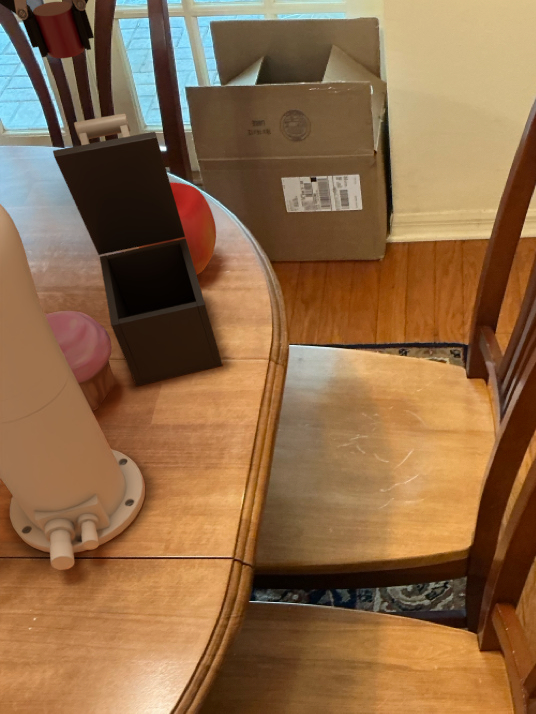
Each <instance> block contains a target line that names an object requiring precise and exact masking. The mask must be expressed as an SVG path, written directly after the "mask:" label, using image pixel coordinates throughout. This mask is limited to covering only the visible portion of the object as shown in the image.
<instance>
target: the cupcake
mask: <svg viewBox="0 0 536 714" xmlns="http://www.w3.org/2000/svg"><path fill="white" fill-rule="evenodd" d="M45 315H46V318H47V320H48V323H49V325H50V327H51V329H52V331H53V333H54V336H55V338H56V340H57V342H58V344H59V346H60V348H61V350H62V352H63V354H64V356H65V358H66V360H67V362H68V364H69V366H70V368H71V370H72V372H73V374H74V376H75V378H76V380H77V382H78V384H79V386H80V388H81V390H82V392H83V394H84V396H85V398H86V400H87V402H88V404H89V406H90V408H91V410H92V412H93V411H95V410H97V409H98V408H99V407H100V405H101V404H102V403H103V402H104V400H105V399H106V398H107V396H108V394H109V393H110V392H111V391H112V390H114V387H115V385H116V381H115V376H114V373H113V370H112V367H111V363H110V358H111V356H112V352H113V347H112V346H113V345H112V340H111V337H110V335H109V332H108V331H107V330H106V329H105V327H104V326H102V325H101V324H100V323H99V322H98V321H97V320H96V319H94V318H93V317H91V316H90V315H88V314H86V313H84V312H82V311H75V310H58V311H54V312H50V313H45Z"/></svg>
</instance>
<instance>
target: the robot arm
mask: <svg viewBox="0 0 536 714" xmlns="http://www.w3.org/2000/svg"><path fill="white" fill-rule="evenodd" d="M70 1H71V6H72V9H73V15H74V18H75V21H76V24H77V27H78V30H79V33H80V36H81V39H82V42H83V45H84V48H85V50H86V51H90V50H92V47H91V42H90V39H95V36H94V32H93V29H92V26H91V22H90V20H89V16H88V14H87V10H86V9H87V4H88V2H89V0H70ZM0 5H1V6H3V7H4V8H6V9H7V10H9V11H11V12H12V13H13V14H15V15H16V16H17V18H19V19H20V20H21V21H22V24H23V25H24V28H25V31H26V34H27V37H28V40H29V42H30V44H31V48H38V50H39V53H40V56H41V58H47V57H48V56H49V55H48V52H47V49H46V47H45V44H44V41H43V39H42V36H41V33H40V30H39V28H38V25H37V22H36V19H35V17H34V14H33V9H32V8H31V6H30V5H29V4H28V2H27V0H0ZM45 314H46V313H45V310H44V308H43V306H42V303H41V300H40V298H39V294H38V291H37V288H36V285H35V281H34V278H33V275H32V271H31V268H30V264H29V260H28V257H27V253H26V250H25V246H24V243H23V240H22V237H21V235H20V232H19V229H18V228H17V226H16V223H15V222H14V219H13V218H12V217H11V214H9V212H8V210H7V209H6V208H5V207H4V205H2V204H1V203H0V480H1V481H2V482H3V485H5V487H6V488H7V490H8V491H9V493H10V494H11V495H12V497H11V500H10V504H9V520H10V522H11V524H12V527H13V529H14V530H15V532H16V533H17V534H18V536H19V537H20V539H22V541H24V542H25V544H27V545H29V546H31V547H32V548H34V549H36V550H38V551H42V552H44V553H49V557H50V558H49V559H50V565H51V567H52V569H55V570H59V571H64V570H69V569H71V568H73V567H74V565H75V564H76V563H75V553H81V552H85V551H87V550H88V551H91V550H92V551H93V550H95V549H97V548H98V547H99V546H101V545H103V544H105V543H107V542H109V541H110V540H112V539H113V538H115V537H117V536H119V534H121V533H122V532H123V531H125V530H126V529H127V528H128V527H129V526H130V525H131V523H132V522H133V521H134V520H135V519H136V517H137V516H138V514H139V512H140V511H141V509H142V506H143V504H144V501H145V496H146V484H145V479H144V476H143V475H142V472H141V470H140V468H139V466H138V465H137V464H136V462H135V461H134V460H133V459H131V457H129V456H128V455H126V454H124V453H122V452H121V451H118V450H115V449H112V448H111V446H110V444H109V442H108V440H107V438H106V436H105V433H104V432H103V430H102V429H101V426H100V424H99V422H98V420H97V418H96V416H95V415H94V412H93V411H92V410H91V408H90V406H89V404H88V402H87V400H86V398H85V396H84V394H83V392H82V390H81V388H80V386H79V384H78V382H77V380H76V378H75V376H74V374H73V372H72V370H71V368H70V366H69V364H68V362H67V360H66V358H65V356H64V354H63V352H62V350H61V348H60V346H59V344H58V342H57V340H56V338H55V336H54V333H53V331H52V329H51V327H50V325H49V323H48V320H47V318H46V315H45Z"/></svg>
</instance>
